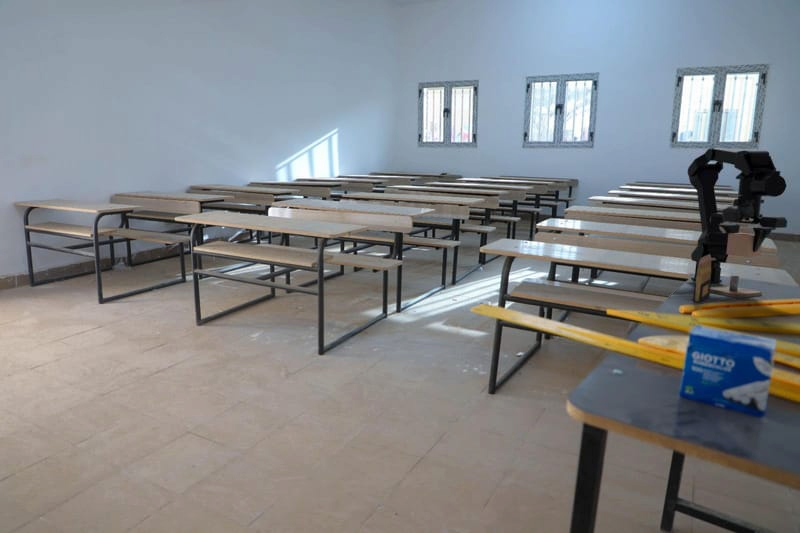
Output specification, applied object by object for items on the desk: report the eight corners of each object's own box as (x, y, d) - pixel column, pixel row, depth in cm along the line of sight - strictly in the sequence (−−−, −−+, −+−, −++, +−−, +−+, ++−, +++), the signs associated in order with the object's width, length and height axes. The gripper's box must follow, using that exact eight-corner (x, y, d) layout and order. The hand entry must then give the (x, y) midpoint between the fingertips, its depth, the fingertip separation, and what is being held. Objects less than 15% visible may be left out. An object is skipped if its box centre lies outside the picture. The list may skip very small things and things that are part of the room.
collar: (726, 254, 159) (728, 233, 158) (739, 253, 161) (741, 232, 160) (746, 256, 153) (749, 235, 152) (760, 255, 156) (762, 234, 155)
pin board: (705, 291, 160) (706, 274, 159) (728, 288, 164) (730, 272, 163) (737, 298, 151) (740, 280, 150) (761, 295, 155) (763, 278, 154)
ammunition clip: (700, 302, 145) (705, 258, 143) (692, 301, 146) (697, 257, 144) (709, 296, 153) (714, 253, 151) (702, 295, 154) (706, 253, 152)
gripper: (700, 194, 159) (695, 247, 162) (766, 196, 143) (759, 256, 145) (725, 194, 164) (719, 246, 167) (791, 196, 148) (784, 254, 150)
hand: (743, 250), depth 157 cm, fingers closed on collar, 6 cm apart
